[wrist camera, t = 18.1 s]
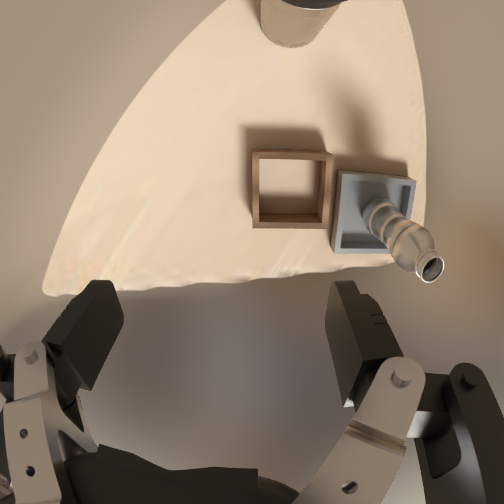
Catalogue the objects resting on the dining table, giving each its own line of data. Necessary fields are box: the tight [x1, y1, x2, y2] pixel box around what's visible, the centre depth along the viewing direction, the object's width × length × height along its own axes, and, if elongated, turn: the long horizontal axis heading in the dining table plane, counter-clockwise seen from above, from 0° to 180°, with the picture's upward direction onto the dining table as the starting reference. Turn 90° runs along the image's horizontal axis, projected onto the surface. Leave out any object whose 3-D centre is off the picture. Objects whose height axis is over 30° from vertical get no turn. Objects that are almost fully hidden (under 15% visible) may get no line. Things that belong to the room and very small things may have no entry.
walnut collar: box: [252, 149, 333, 229], centre depth 43 cm, size 12×12×4 cm
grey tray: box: [330, 170, 416, 254], centre depth 44 cm, size 14×14×3 cm
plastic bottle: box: [363, 198, 444, 283], centre depth 36 cm, size 6×7×20 cm
